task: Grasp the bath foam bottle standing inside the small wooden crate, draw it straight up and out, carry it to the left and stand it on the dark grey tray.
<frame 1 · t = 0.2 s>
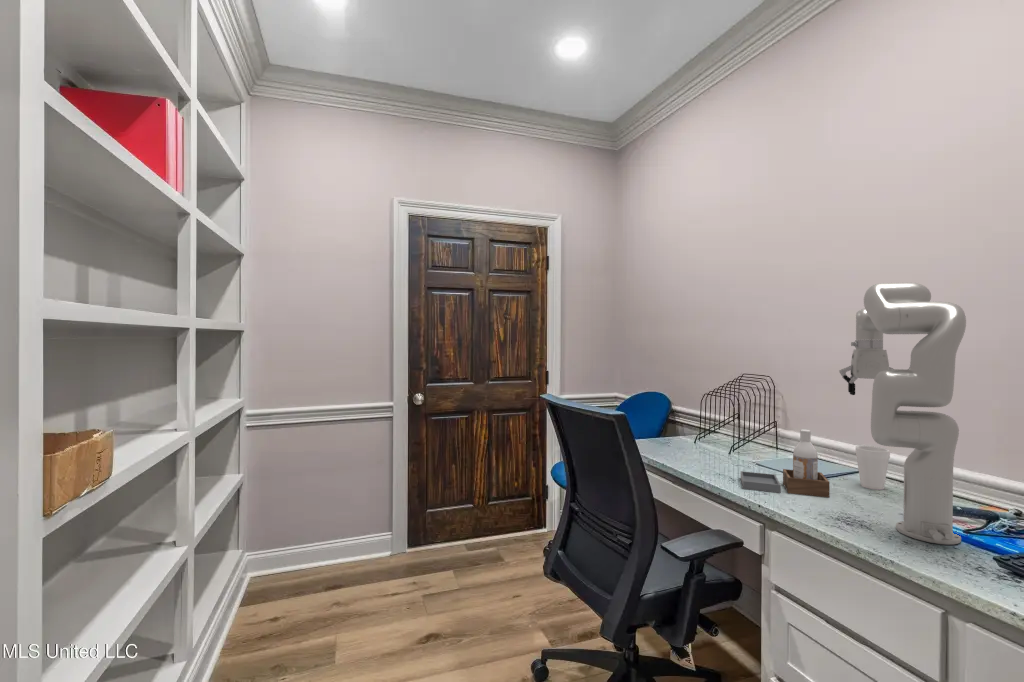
hand: (869, 395, 163), 31 cm above the counter, tool pointing down, fingers open, 9 cm apart
tray: (759, 485, 163), on the counter
foam cup: (872, 487, 162), on the counter
small wooden crate: (805, 490, 158), on the counter
bath foam: (805, 490, 158), resting in small wooden crate
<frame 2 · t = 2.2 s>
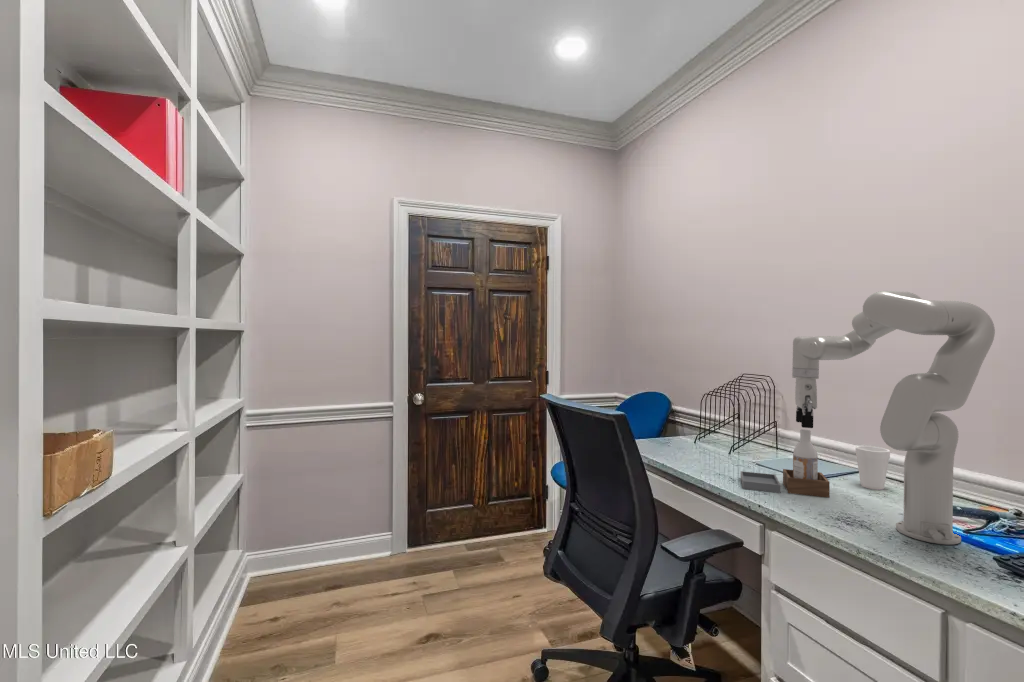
hand: (804, 424, 158), 22 cm above the counter, tool pointing down, fingers open, 9 cm apart
nothing on the counter moved.
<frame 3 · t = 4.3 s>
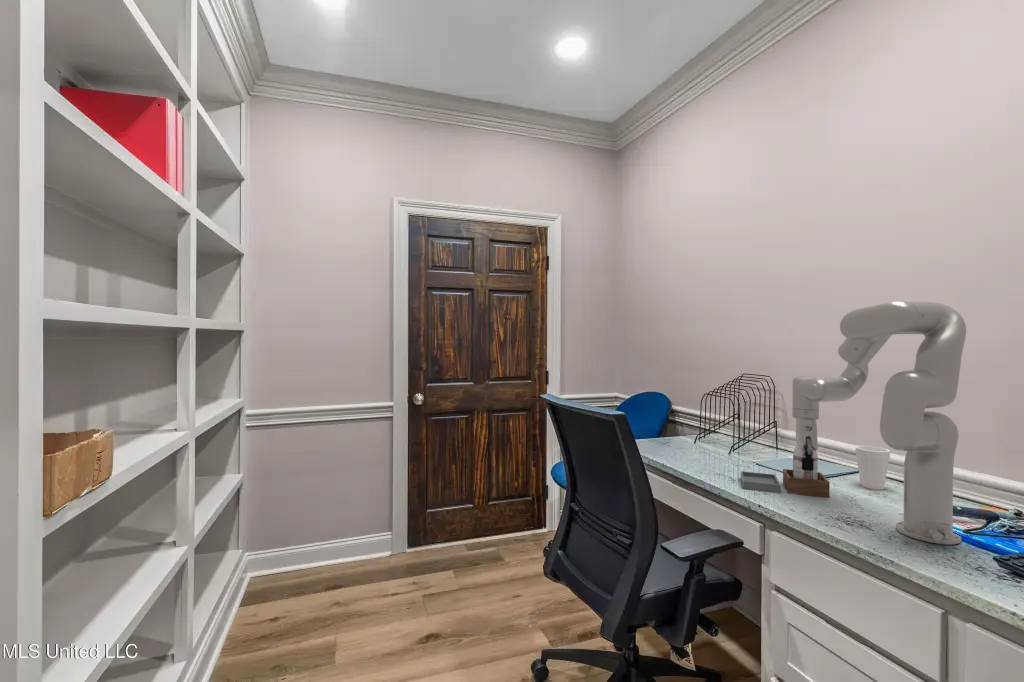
hand: (805, 466, 158), 8 cm above the counter, tool pointing down, fingers closed on bath foam, 7 cm apart
bath foam: (805, 490, 158), resting in small wooden crate, touching gripper
everything else where it was.
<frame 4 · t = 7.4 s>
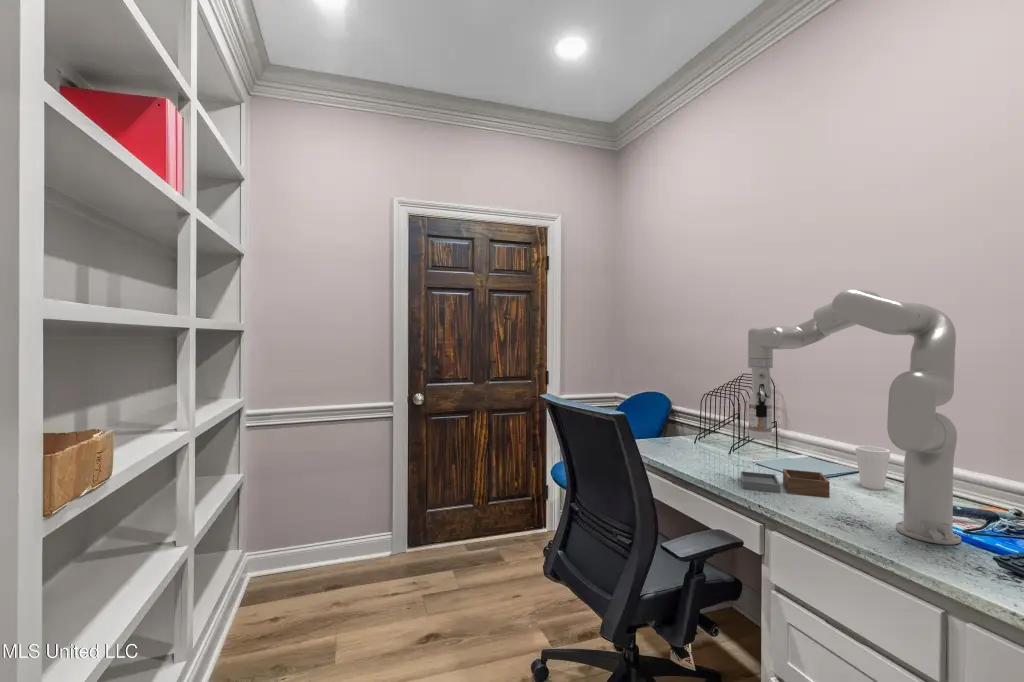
hand: (760, 415, 163), 24 cm above the counter, tool pointing down, fingers closed on bath foam, 7 cm apart
bath foam: (760, 438, 163), point 16 cm above the counter, touching gripper
everything else where it was.
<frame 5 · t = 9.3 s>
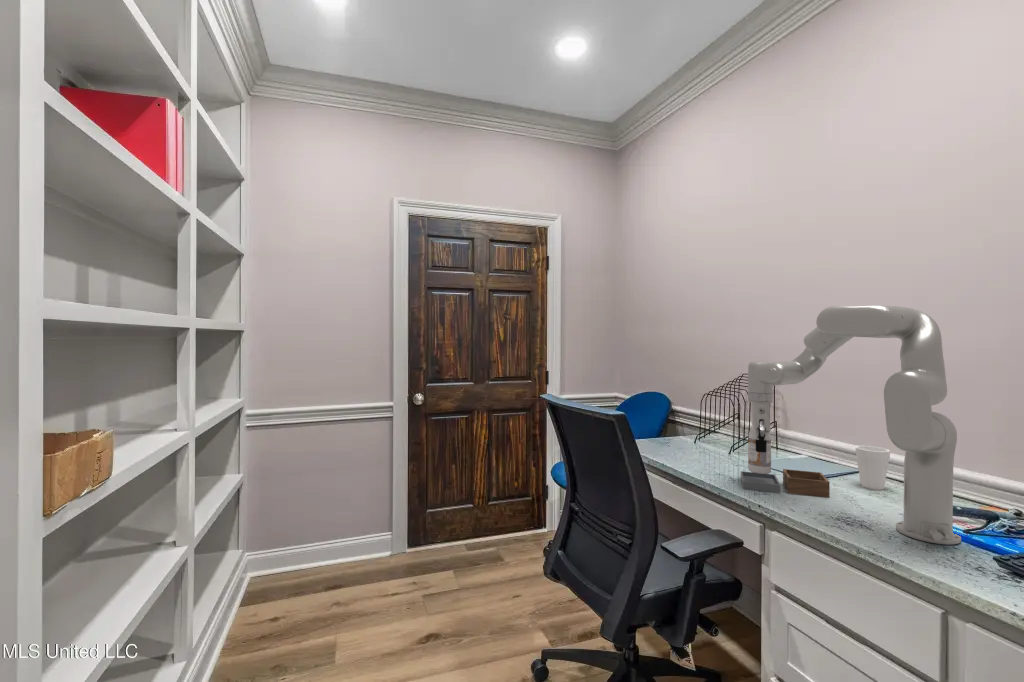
hand: (759, 448, 163), 13 cm above the counter, tool pointing down, fingers closed on bath foam, 7 cm apart
bath foam: (759, 472, 163), point 5 cm above the counter, touching gripper
everything else where it was.
when the fingers open (10 cm above the counter, at t = 10.8 s): bath foam drops 1 cm, resting on tray.
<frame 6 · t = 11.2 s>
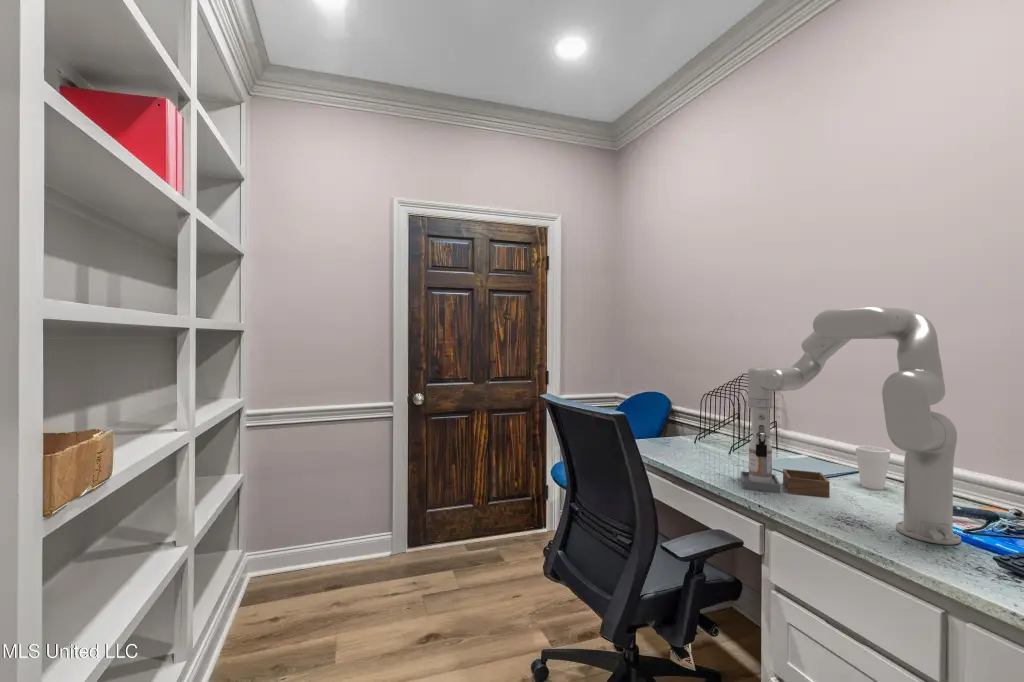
hand: (759, 453, 163), 11 cm above the counter, tool pointing down, fingers open, 9 cm apart
bath foam: (760, 482, 163), point 1 cm above the counter, touching tray
everything else where it was.
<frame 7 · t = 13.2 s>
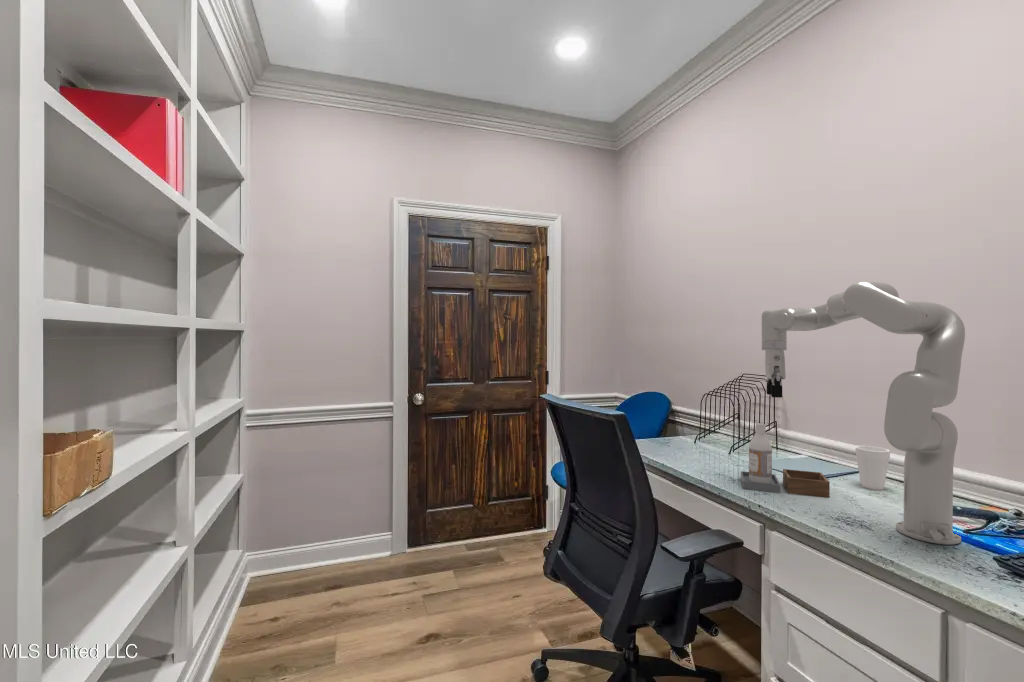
hand: (774, 395, 163), 31 cm above the counter, tool pointing down, fingers open, 9 cm apart
nothing on the counter moved.
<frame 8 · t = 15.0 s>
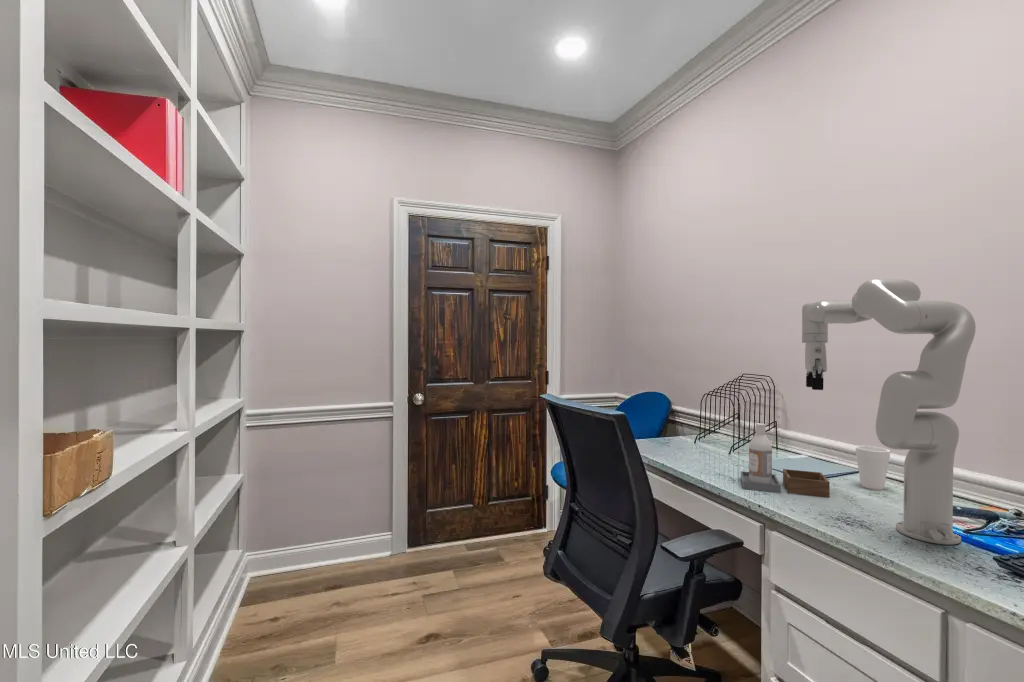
hand: (814, 388, 164), 33 cm above the counter, tool pointing down, fingers open, 9 cm apart
nothing on the counter moved.
at the end: bath foam inside the target area on the tray (0.3 cm from its centre), point 1.0 cm above the tray's base; bath foam tilted 0°; the gripper is holding nothing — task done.
